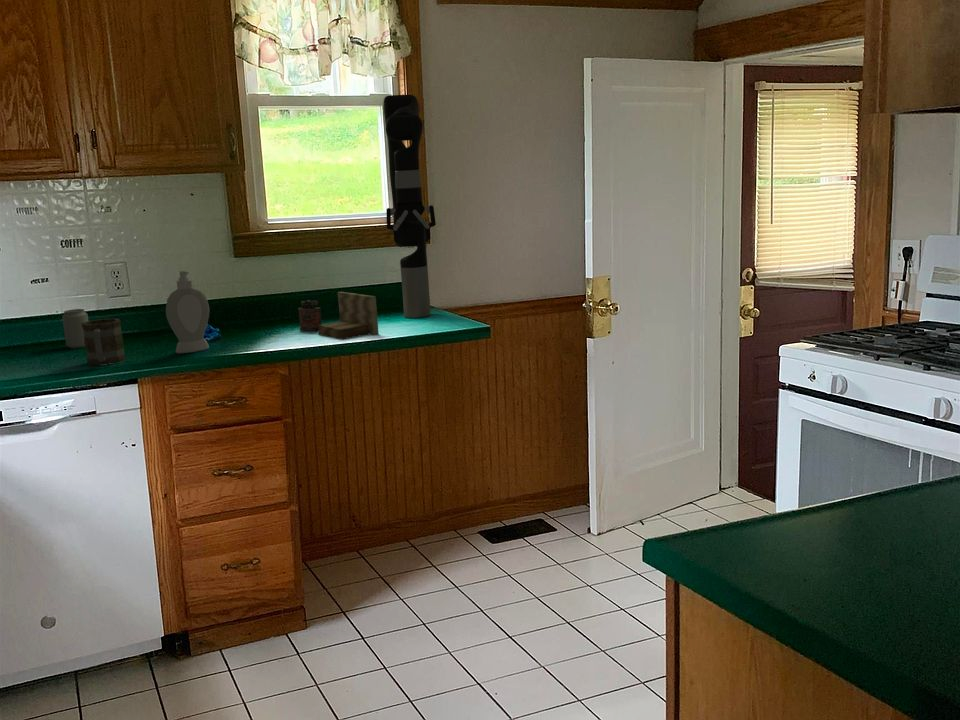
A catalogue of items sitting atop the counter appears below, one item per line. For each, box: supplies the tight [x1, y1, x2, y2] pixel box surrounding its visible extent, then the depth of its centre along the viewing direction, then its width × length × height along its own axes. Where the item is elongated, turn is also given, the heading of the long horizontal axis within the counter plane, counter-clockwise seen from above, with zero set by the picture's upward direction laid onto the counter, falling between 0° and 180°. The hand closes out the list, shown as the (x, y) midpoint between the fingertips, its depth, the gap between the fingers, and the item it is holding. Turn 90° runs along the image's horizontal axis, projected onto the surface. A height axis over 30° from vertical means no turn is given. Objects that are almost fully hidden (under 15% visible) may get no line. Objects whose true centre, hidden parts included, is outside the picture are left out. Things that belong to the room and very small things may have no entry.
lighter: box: [297, 299, 323, 333], centre depth 305 cm, size 8×3×10 cm, turn 68°
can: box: [61, 308, 89, 350], centre depth 298 cm, size 8×8×12 cm
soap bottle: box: [165, 269, 210, 354], centre depth 278 cm, size 13×8×24 cm, turn 123°
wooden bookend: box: [317, 291, 380, 340], centre depth 295 cm, size 20×12×12 cm, turn 40°
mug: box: [81, 318, 127, 366], centre depth 268 cm, size 16×11×12 cm
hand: (412, 242), depth 273 cm, fingers open, 8 cm apart
